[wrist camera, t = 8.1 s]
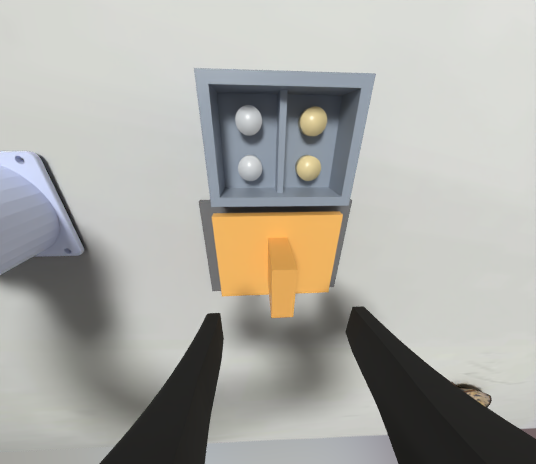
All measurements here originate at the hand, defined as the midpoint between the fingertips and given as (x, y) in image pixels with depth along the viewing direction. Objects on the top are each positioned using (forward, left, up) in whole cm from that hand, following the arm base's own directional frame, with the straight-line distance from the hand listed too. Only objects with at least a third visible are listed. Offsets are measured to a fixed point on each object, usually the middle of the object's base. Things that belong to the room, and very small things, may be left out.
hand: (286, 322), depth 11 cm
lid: (0, 0, -8) cm, 8 cm away
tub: (0, +8, -8) cm, 12 cm away
